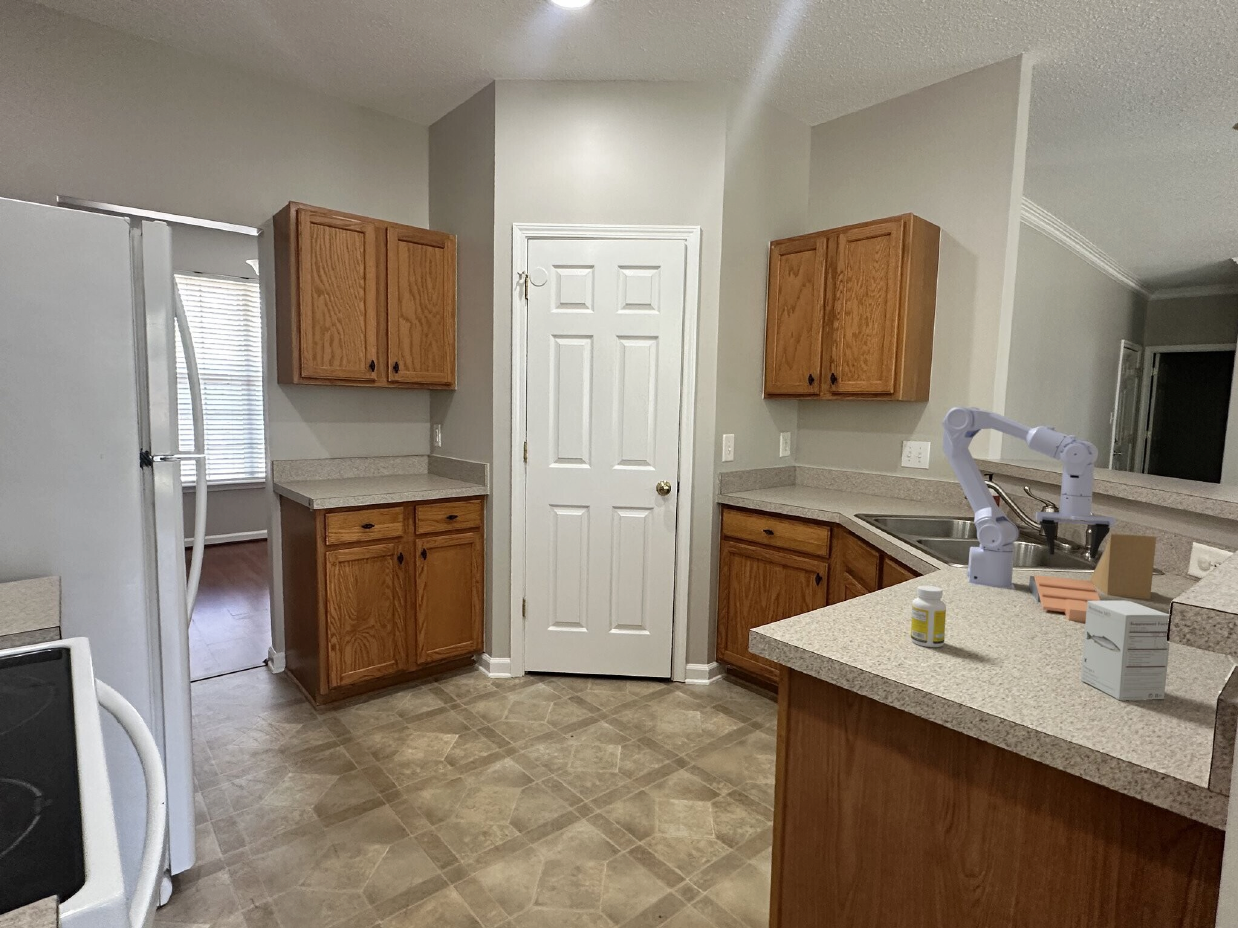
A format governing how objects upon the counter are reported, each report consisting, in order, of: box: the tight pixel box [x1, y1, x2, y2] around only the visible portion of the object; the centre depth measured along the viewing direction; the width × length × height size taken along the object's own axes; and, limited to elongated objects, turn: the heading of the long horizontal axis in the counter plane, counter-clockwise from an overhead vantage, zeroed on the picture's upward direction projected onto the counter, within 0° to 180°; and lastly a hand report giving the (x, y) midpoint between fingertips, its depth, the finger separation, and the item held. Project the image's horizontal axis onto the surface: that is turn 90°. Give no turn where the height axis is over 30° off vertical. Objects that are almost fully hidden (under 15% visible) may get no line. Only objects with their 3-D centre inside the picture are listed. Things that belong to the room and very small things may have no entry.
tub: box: [1028, 575, 1041, 603], centre depth 147 cm, size 10×13×4 cm
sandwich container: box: [1088, 532, 1157, 600], centre depth 156 cm, size 9×15×15 cm, turn 158°
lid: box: [1034, 574, 1101, 623], centre depth 137 cm, size 11×18×3 cm, turn 155°
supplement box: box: [1080, 600, 1171, 701], centre depth 98 cm, size 7×7×13 cm
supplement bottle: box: [910, 585, 947, 648], centre depth 117 cm, size 5×5×10 cm
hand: (1071, 555), depth 148 cm, fingers open, 7 cm apart
